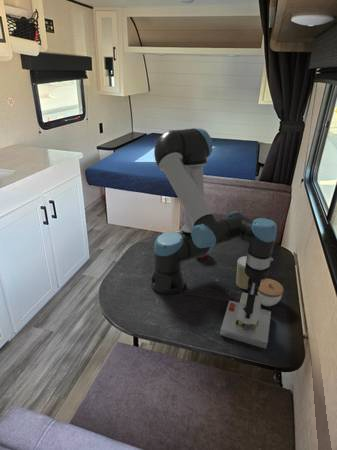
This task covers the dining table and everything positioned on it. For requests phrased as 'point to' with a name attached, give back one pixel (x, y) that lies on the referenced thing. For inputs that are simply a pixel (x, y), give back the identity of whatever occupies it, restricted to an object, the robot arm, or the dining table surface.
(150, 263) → the dining table surface
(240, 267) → the coffee cup
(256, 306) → the plug
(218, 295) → the dining table surface
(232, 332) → the socket
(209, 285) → the dining table surface
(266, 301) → the lidded jar
